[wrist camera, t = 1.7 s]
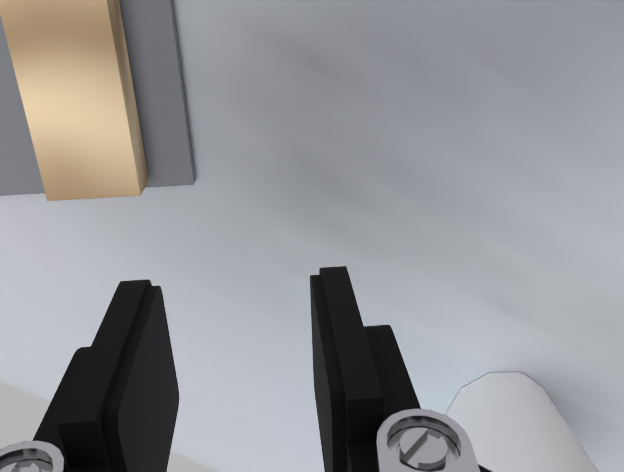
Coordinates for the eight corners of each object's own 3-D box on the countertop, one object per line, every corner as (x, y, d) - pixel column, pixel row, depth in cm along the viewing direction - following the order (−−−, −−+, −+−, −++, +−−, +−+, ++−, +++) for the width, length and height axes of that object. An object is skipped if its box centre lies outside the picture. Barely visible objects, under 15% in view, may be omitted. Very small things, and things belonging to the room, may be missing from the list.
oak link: (-34, -217, 20) (-87, -250, 17) (82, -218, 20) (51, -251, 17) (61, 185, 26) (35, 213, 23) (148, 179, 27) (134, 207, 23)
